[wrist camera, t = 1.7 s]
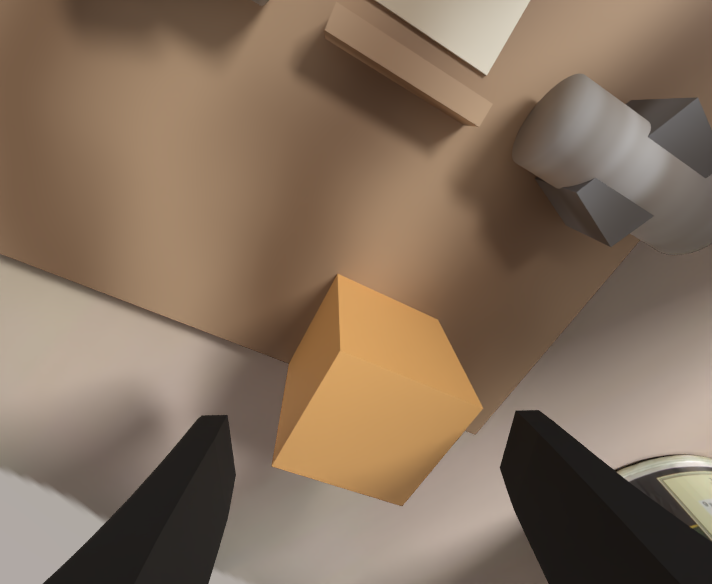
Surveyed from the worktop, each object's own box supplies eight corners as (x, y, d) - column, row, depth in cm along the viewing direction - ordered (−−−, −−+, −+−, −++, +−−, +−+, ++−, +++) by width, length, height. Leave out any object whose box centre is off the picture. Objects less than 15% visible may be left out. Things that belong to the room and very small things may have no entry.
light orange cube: (438, 319, 14) (483, 407, 10) (383, 399, 15) (402, 506, 11) (337, 273, 13) (340, 350, 9) (288, 363, 14) (271, 466, 10)
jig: (834, -31, 11) (1037, -89, 8) (467, 417, 17) (497, 484, 14) (137, -765, 6) (-68, -1684, 3) (-9, 230, 12) (-121, 270, 9)
